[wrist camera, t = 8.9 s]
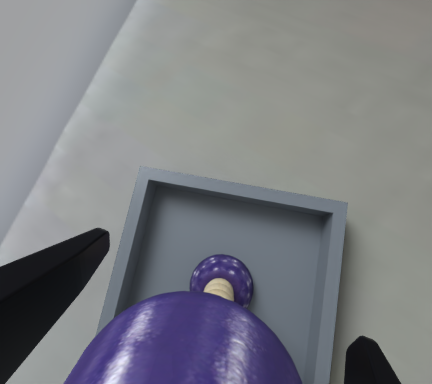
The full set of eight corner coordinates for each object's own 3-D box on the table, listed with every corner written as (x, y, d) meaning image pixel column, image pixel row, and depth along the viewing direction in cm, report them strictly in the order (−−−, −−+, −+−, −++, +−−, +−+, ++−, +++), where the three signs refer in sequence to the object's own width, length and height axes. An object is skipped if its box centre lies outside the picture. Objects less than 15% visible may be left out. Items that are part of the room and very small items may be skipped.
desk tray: (102, 369, 18) (81, 388, 15) (151, 175, 20) (139, 165, 18) (308, 422, 17) (321, 453, 14) (333, 208, 19) (347, 202, 17)
